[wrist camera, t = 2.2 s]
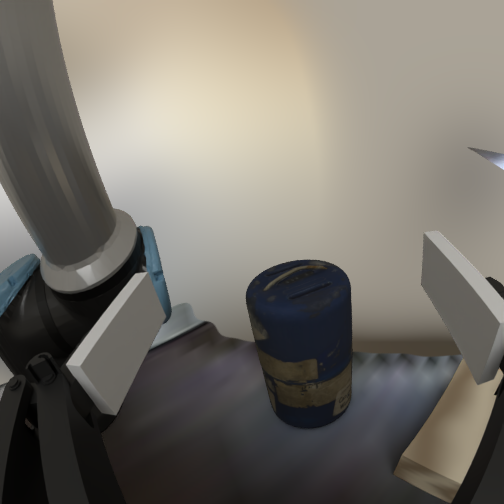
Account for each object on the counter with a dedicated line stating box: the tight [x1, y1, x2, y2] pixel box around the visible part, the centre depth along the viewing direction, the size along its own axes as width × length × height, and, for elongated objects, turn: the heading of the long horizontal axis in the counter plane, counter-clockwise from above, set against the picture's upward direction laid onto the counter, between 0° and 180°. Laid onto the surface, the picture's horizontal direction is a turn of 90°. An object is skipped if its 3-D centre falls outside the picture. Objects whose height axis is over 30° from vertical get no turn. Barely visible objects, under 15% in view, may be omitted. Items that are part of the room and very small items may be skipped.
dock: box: [393, 358, 504, 503], centre depth 18 cm, size 16×14×5 cm
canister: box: [246, 260, 353, 428], centre depth 30 cm, size 10×10×18 cm
